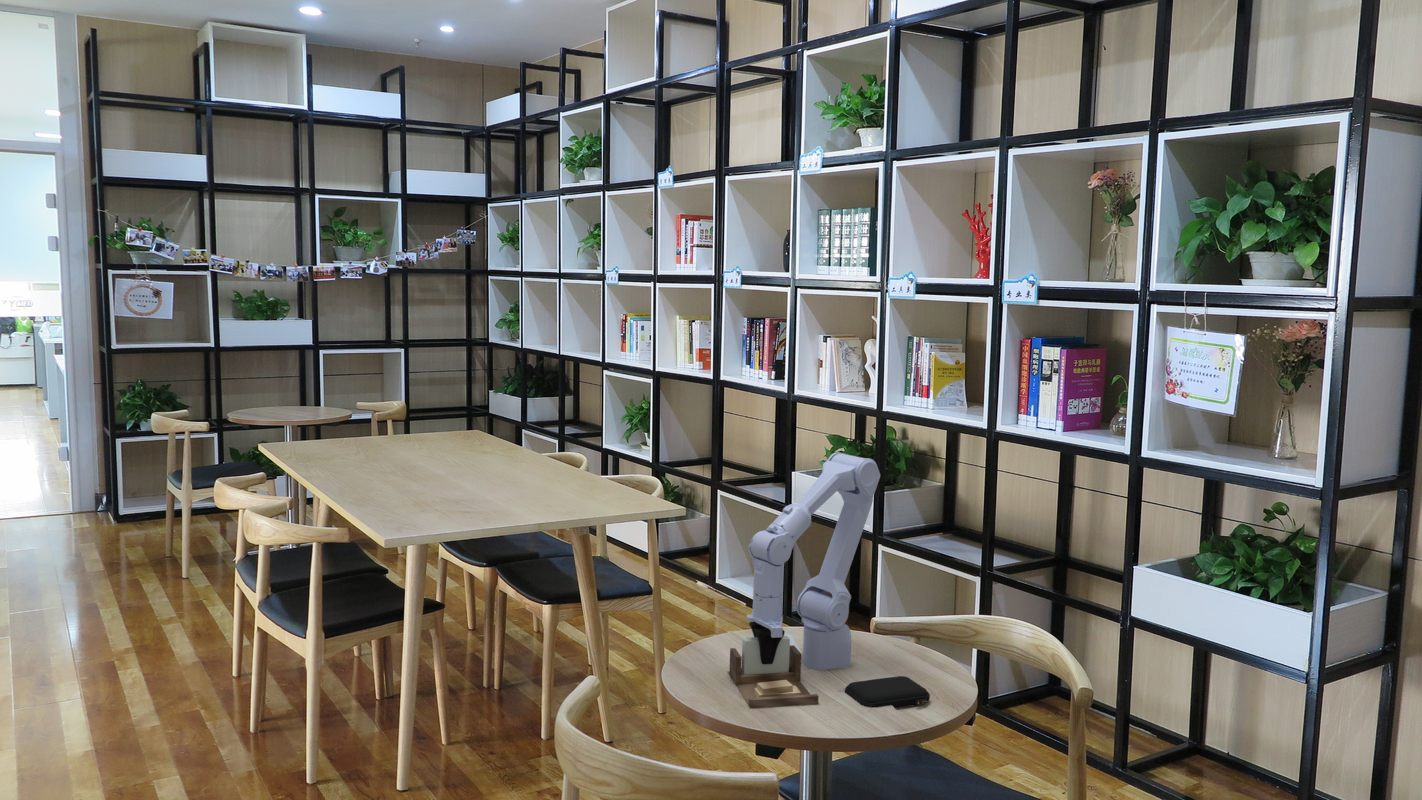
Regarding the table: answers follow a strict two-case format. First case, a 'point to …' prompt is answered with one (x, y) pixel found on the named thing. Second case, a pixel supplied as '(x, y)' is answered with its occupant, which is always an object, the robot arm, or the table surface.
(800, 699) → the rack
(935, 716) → the table surface
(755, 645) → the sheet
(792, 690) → the offcut stack
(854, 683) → the carrying case or bag
